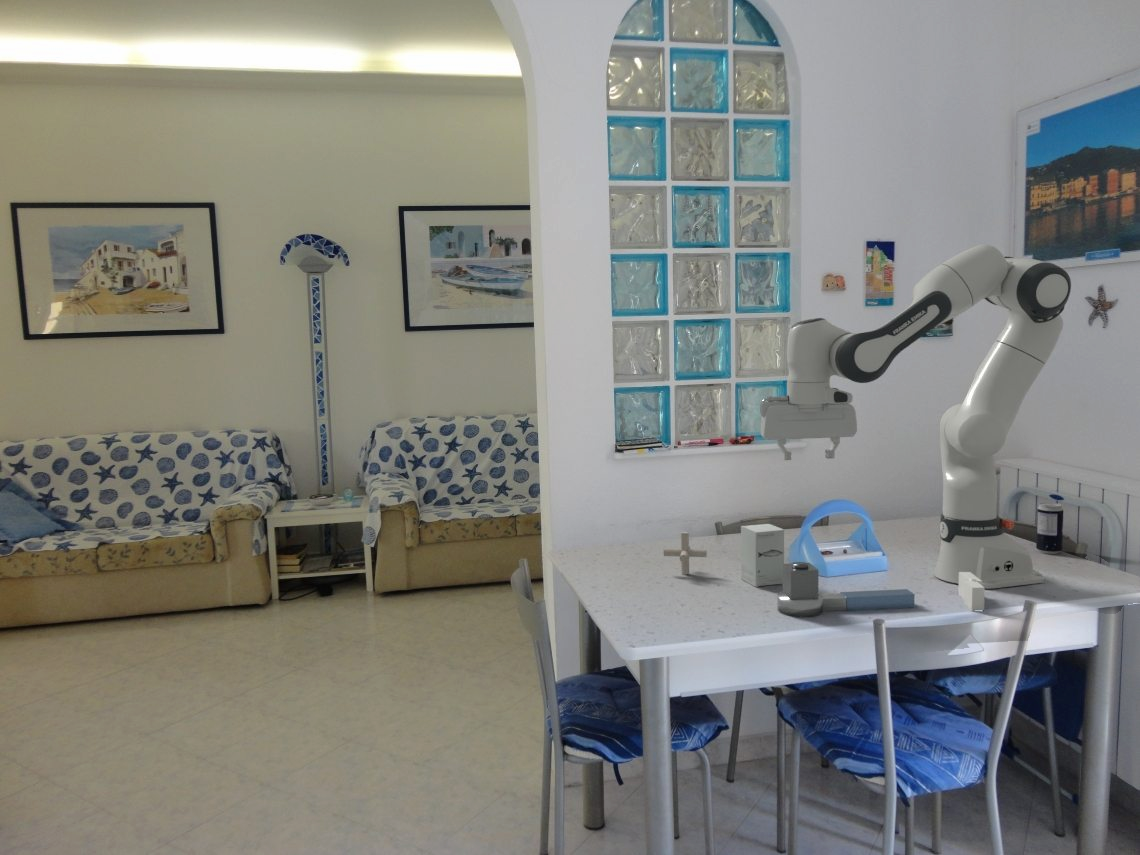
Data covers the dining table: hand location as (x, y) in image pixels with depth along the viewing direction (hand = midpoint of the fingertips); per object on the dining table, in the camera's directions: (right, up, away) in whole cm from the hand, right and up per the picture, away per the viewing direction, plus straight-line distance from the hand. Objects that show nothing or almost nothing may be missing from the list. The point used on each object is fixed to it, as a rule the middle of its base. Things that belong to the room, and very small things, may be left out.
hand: (808, 459), depth 188 cm
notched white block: (+31, -30, -9) cm, 44 cm away
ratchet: (+5, -30, -10) cm, 32 cm away
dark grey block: (-4, -27, -10) cm, 30 cm away
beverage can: (+68, -24, +29) cm, 77 cm away
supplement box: (-8, -29, +11) cm, 31 cm away
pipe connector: (-24, -28, +19) cm, 41 cm away
